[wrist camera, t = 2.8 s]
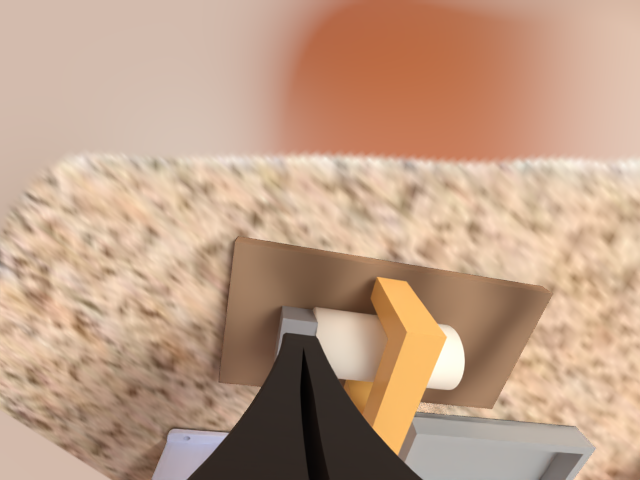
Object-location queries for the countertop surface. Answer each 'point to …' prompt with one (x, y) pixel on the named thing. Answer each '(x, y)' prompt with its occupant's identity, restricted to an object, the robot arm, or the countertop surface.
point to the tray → (492, 449)
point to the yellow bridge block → (398, 362)
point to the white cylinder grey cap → (364, 344)
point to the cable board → (354, 296)
